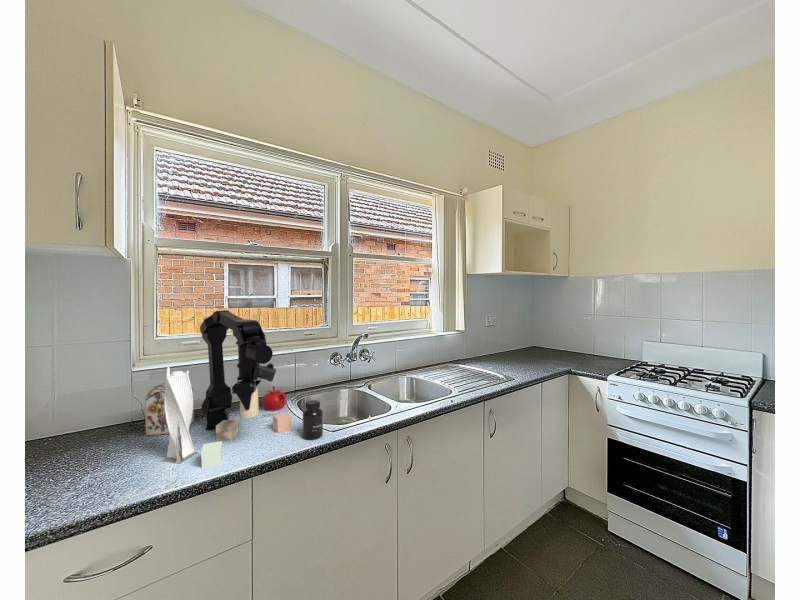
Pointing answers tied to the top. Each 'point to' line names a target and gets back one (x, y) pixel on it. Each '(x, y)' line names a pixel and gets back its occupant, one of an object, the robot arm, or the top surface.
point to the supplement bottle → (312, 420)
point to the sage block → (211, 454)
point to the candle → (253, 407)
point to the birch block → (227, 430)
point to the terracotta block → (282, 422)
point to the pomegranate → (274, 400)
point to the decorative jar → (157, 411)
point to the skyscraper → (178, 416)
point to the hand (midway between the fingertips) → (249, 406)
